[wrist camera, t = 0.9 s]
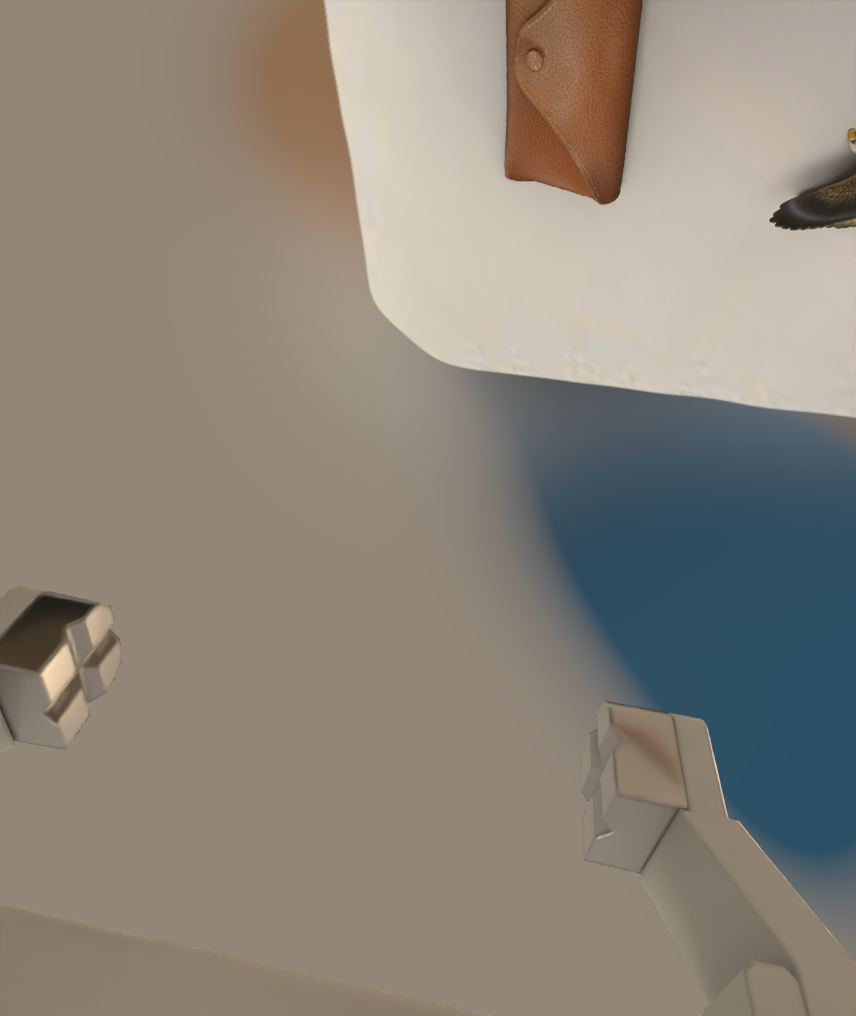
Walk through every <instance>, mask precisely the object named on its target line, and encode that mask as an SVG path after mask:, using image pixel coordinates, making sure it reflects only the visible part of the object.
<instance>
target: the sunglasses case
mask: <svg viewBox="0 0 856 1016" xmlns="http://www.w3.org/2000/svg"><path fill="white" fill-rule="evenodd" d="M641 9H642V0H506V36H507V45H506V49H507V126H506V128H507V129H506V146H505V148H506V149H505V166H504V167H505V176H506V177H507V178H508V179H511V180H515V181H537V182H540V183H544V184H547V185H550V186H553V187H557V188H560V189H563V190H567V191H571V192H574V193H576V194H580V195H583V196H587V197H590V198H593V199H594V200H595V201H596V202H598V203H599V204H601V205H603V204H604V205H605V204H609V203H611V202H613V201H615V200H616V199H617V198H618V196H619V194H620V187H621V183H622V174H623V167H624V159H625V152H626V141H627V132H628V124H629V116H630V106H631V97H632V90H633V81H634V71H635V61H636V52H637V44H638V35H639V27H640V18H641Z"/></svg>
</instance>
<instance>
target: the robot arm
mask: <svg viewBox="0 0 856 1016" xmlns="http://www.w3.org/2000/svg"><path fill="white" fill-rule="evenodd" d="M114 621H115V617H114V614H113V611H112V608H111V606H110V605H107V604H104V603H99V602H95V601H90V600H86V599H81V598H77V597H73V596H67V595H64V594H59V593H55V592H50V591H44V590H40V589H35V588H31V587H25V586H21V585H20V586H17V587H15V588H12V589H10V590H8V591H7V592H6V593H5V594H4V595H3V596H2V597H1V598H0V754H1V753H2V752H4V751H5V750H7V749H8V748H10V747H11V746H13V745H14V744H15V742H14V741H19V742H24V743H30V744H35V745H41V746H46V747H52V748H57V749H62V750H66V749H67V748H68V746H69V745H70V744H71V742H72V741H73V739H74V738H75V736H76V735H77V734H78V732H79V731H80V729H81V728H82V727H83V725H84V724H85V722H86V721H87V719H88V718H89V717H90V709H89V702H91V701H93V700H95V699H97V698H98V697H100V696H102V695H104V694H105V693H106V692H107V691H108V689H109V688H110V686H111V685H112V683H113V682H114V680H115V678H116V675H117V673H118V670H119V667H120V664H121V659H122V647H121V642H120V639H119V638H118V636H117V635H116V634H115V633H114V632H113V631H112V630H111V629H110V626H111V625H112V624H113V622H114ZM581 792H582V793H583V795H584V796H585V798H586V799H587V801H588V802H589V804H588V806H587V808H586V811H585V813H584V815H583V817H582V825H583V826H582V828H583V850H584V860H585V861H589V862H593V863H597V864H601V865H606V866H610V867H614V868H618V869H622V870H627V871H630V872H634V873H639V874H640V876H639V878H640V879H641V881H642V883H643V885H644V887H645V888H646V890H647V892H648V894H649V896H650V898H651V899H652V901H653V903H654V905H655V907H656V908H657V910H658V912H659V914H660V915H661V917H662V919H663V921H664V923H665V925H666V926H667V928H668V930H669V932H670V933H671V935H672V937H673V939H674V941H675V943H676V944H677V946H678V948H679V950H680V952H681V953H682V955H683V957H684V958H685V961H686V962H687V964H688V966H689V968H690V970H691V972H692V973H693V975H694V977H695V979H696V981H697V982H698V984H699V986H700V988H701V990H702V991H703V993H704V995H705V997H706V999H707V1000H708V1002H709V1005H708V1006H707V1007H706V1008H705V1009H704V1010H703V1011H702V1012H701V1013H700V1014H699V1015H698V1016H856V964H855V962H854V961H853V960H852V959H851V958H850V956H849V955H848V954H847V953H846V952H845V950H844V949H843V948H842V947H841V946H840V944H839V943H838V942H837V941H836V939H835V938H834V937H833V936H832V934H831V933H830V932H829V931H828V930H827V928H826V927H825V926H824V925H823V924H822V922H821V921H820V920H819V919H818V917H817V916H816V915H815V914H814V913H813V911H812V910H811V909H810V908H809V907H808V905H807V904H806V903H805V902H804V900H803V899H802V898H801V897H800V895H799V894H798V893H797V892H796V891H795V890H794V888H793V887H792V886H791V885H790V884H789V882H788V881H787V880H786V878H785V877H784V876H783V875H782V874H781V872H780V871H779V870H778V869H777V868H776V866H775V865H774V864H773V863H772V862H771V860H770V859H769V858H768V857H767V855H766V854H765V853H764V852H763V850H762V849H761V848H760V847H759V846H758V844H757V843H756V842H755V841H754V839H753V838H752V837H751V836H750V835H749V834H748V832H747V831H746V830H745V829H744V827H743V826H742V825H741V824H740V822H739V821H735V820H731V819H728V816H727V811H726V807H725V803H724V798H723V793H722V789H721V785H720V780H719V776H718V772H717V768H716V763H715V759H714V754H713V750H712V746H711V742H710V738H709V733H708V728H707V725H706V724H705V722H704V721H703V720H702V719H697V718H692V717H687V716H682V715H676V714H671V713H667V712H664V711H658V710H653V709H647V708H642V707H636V706H631V705H625V704H620V703H614V702H609V701H604V702H603V704H602V705H601V707H600V709H599V711H598V713H597V729H596V730H594V731H592V732H590V733H589V736H588V738H587V741H586V744H585V747H584V753H583V758H582V765H581ZM0 1016H492V1015H487V1014H482V1013H479V1012H474V1011H470V1010H466V1009H461V1008H457V1007H453V1006H448V1005H444V1004H439V1003H435V1002H431V1001H427V1000H422V999H418V998H413V997H409V996H405V995H401V994H396V993H391V992H388V991H383V990H379V989H375V988H370V987H366V986H361V985H357V984H353V983H348V982H344V981H340V980H336V979H331V978H326V977H323V976H318V975H314V974H309V973H305V972H301V971H297V970H292V969H288V968H284V967H279V966H275V965H271V964H266V963H262V962H258V961H253V960H249V959H244V958H240V957H236V956H232V955H227V954H223V953H219V952H214V951H210V950H205V949H201V948H197V947H193V946H188V945H184V944H180V943H175V942H171V941H167V940H162V939H158V938H154V937H149V936H145V935H141V934H136V933H132V932H128V931H123V930H119V929H115V928H110V927H106V926H101V925H97V924H93V923H89V922H84V921H80V920H76V919H71V918H67V917H62V916H58V915H54V914H50V913H45V912H41V911H36V910H32V909H28V908H23V907H19V906H15V905H11V904H6V903H1V902H0Z"/></svg>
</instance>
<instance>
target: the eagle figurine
mask: <svg viewBox="0 0 856 1016" xmlns="http://www.w3.org/2000/svg"><path fill="white" fill-rule="evenodd" d="M848 139H849V146H850V148H851V149H852V151H853V152H854V153H855V154H856V132H855V131H854V129H851V130H850V131H849V133H848ZM769 221H770V222H772V223H776V224H775V227H782V229H789V228H790V230H791V231H792V230H798V229H801V230H805V229H815V228H823V227H827V228H830V227H835V228H838V229H839V228H848V227H856V174H855V175H853V176H852V177H850V178H848V179H846V180H844V181H841V182H838V183H834V184H831V185H827V186H825V187H823V188H821V189H819V190H818V191H816V192H814V193H810V194H805V195H801V196H799V197H796V198H793V199H790V200H789V201H786V202H784V203H783V204H781V206H780V209H779V210H778V211H776V212H775V213H774V214H773V217H772V218H771V219H770V220H769Z"/></svg>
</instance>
